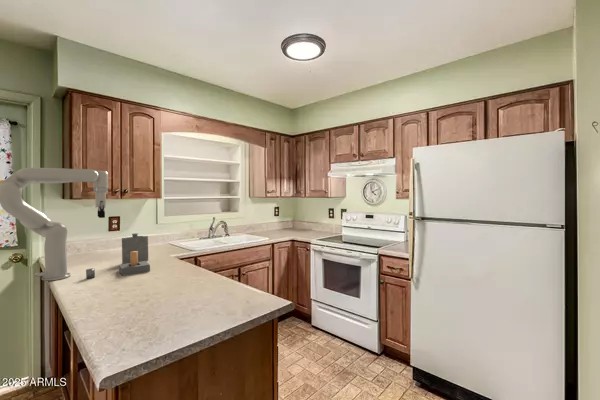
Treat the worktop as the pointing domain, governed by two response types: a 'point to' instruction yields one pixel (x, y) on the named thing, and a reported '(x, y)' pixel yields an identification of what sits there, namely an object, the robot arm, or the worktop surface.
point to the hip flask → (135, 247)
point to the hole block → (134, 268)
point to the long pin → (134, 258)
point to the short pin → (90, 273)
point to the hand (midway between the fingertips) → (101, 217)
